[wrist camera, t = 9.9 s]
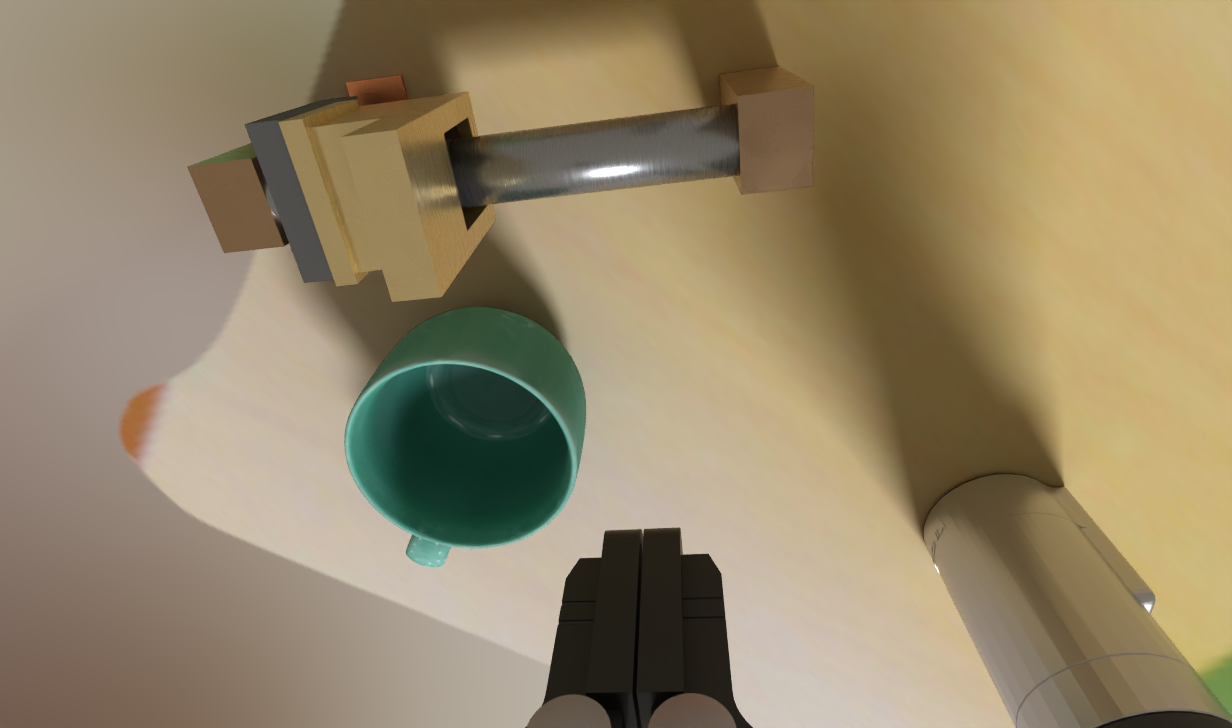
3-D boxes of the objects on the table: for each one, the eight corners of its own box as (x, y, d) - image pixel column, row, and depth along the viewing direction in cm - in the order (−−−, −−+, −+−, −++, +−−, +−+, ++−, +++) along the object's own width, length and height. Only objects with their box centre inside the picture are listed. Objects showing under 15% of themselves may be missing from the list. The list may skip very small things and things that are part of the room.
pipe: (778, 22, 33) (814, 30, 26) (779, 183, 37) (811, 231, 29) (267, 93, 36) (166, 119, 28) (318, 236, 40) (241, 292, 32)
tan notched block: (466, 82, 31) (392, 117, 23) (497, 226, 35) (444, 306, 26) (345, 98, 32) (227, 139, 23) (387, 238, 35) (298, 321, 26)
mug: (442, 249, 40) (386, 316, 31) (627, 342, 42) (620, 427, 34) (358, 445, 47) (295, 541, 39) (519, 514, 50) (492, 619, 41)
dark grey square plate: (357, 95, 33) (290, 118, 27) (396, 231, 37) (345, 278, 30) (319, 100, 34) (244, 124, 27) (362, 235, 37) (304, 282, 31)
